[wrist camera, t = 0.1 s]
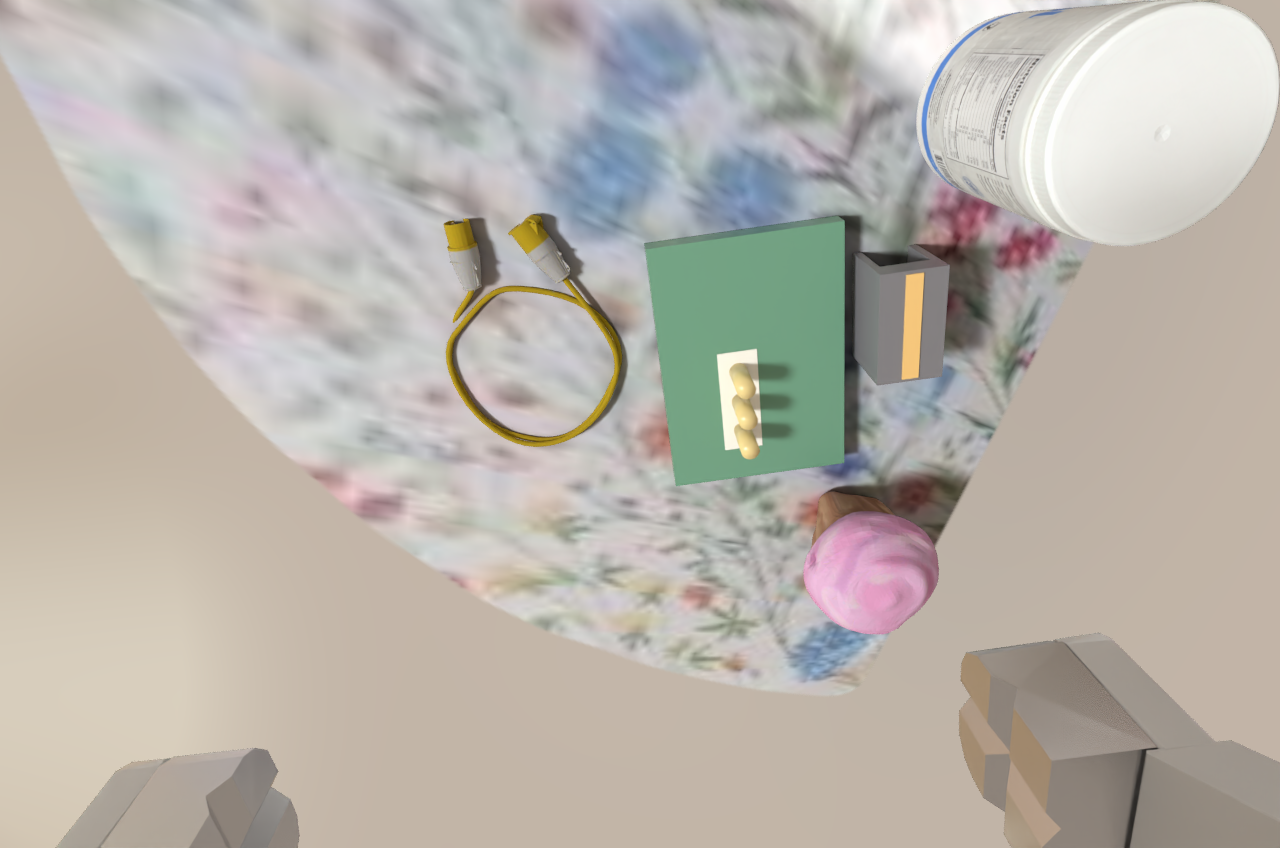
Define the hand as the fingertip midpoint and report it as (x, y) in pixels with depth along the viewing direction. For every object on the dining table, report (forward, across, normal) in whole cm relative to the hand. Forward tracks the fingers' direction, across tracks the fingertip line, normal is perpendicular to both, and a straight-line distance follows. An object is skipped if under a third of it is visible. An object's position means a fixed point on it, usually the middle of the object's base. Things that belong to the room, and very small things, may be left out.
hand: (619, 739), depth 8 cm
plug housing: (+40, -17, +6) cm, 43 cm away
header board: (+40, -8, +8) cm, 41 cm away
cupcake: (+42, -14, +22) cm, 49 cm away
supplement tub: (+39, -23, -5) cm, 45 cm away
